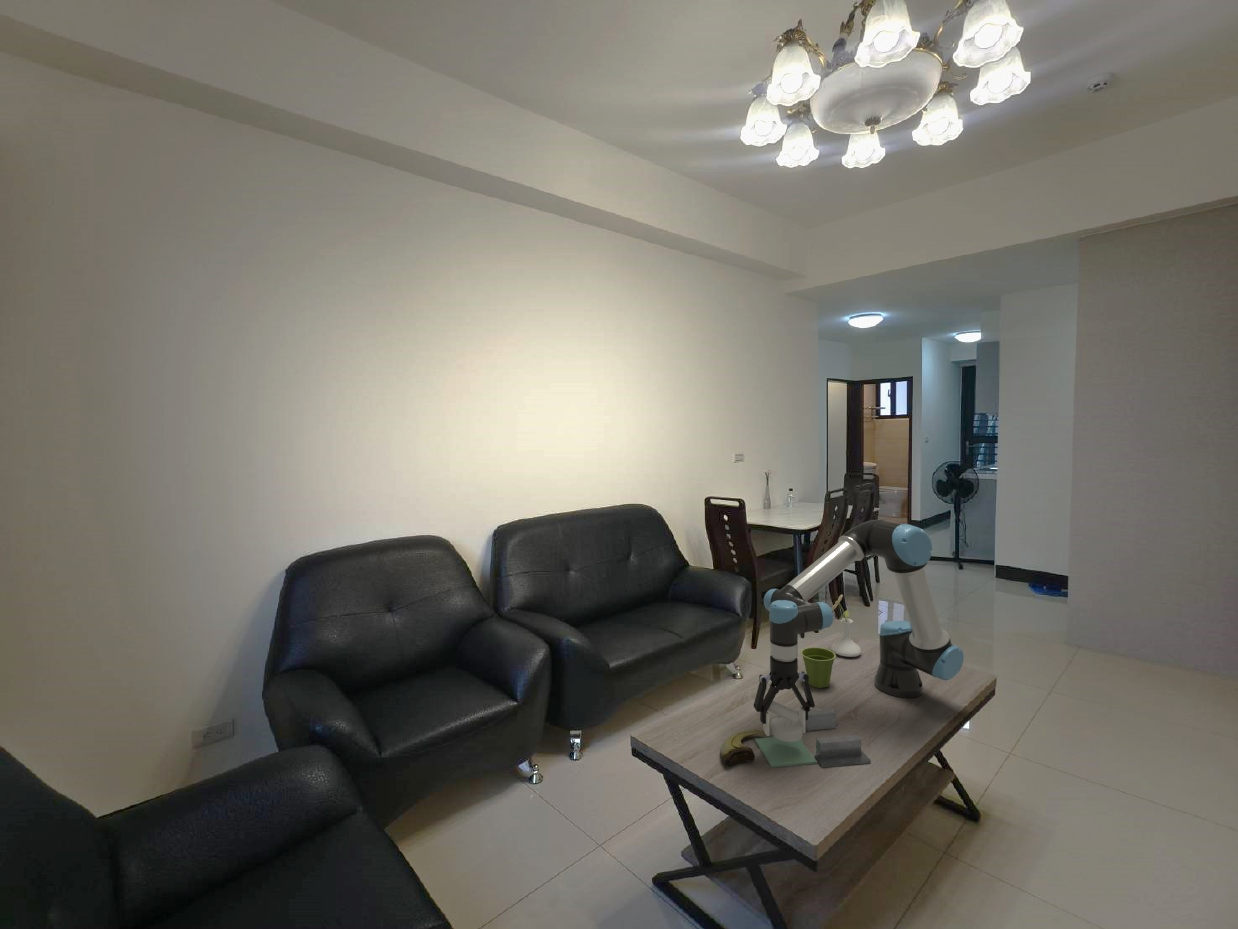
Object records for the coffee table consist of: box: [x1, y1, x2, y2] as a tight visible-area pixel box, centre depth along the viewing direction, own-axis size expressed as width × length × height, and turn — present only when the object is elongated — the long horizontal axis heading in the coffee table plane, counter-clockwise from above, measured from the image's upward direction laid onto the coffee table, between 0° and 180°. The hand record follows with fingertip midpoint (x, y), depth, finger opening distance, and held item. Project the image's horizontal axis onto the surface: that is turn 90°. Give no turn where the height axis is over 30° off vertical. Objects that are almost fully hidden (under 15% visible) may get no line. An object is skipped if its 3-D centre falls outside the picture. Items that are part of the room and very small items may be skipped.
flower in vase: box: [830, 594, 863, 658], centre depth 217 cm, size 13×11×25 cm
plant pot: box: [800, 646, 837, 689], centre depth 193 cm, size 12×12×11 cm
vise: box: [796, 708, 872, 769], centre depth 158 cm, size 14×23×5 cm, turn 6°
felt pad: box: [754, 736, 818, 769], centre depth 154 cm, size 13×13×1 cm
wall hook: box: [768, 700, 804, 742], centre depth 154 cm, size 9×10×10 cm
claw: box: [720, 729, 765, 766], centre depth 156 cm, size 20×10×3 cm, turn 152°
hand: (784, 732), depth 154 cm, fingers closed on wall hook, 10 cm apart
